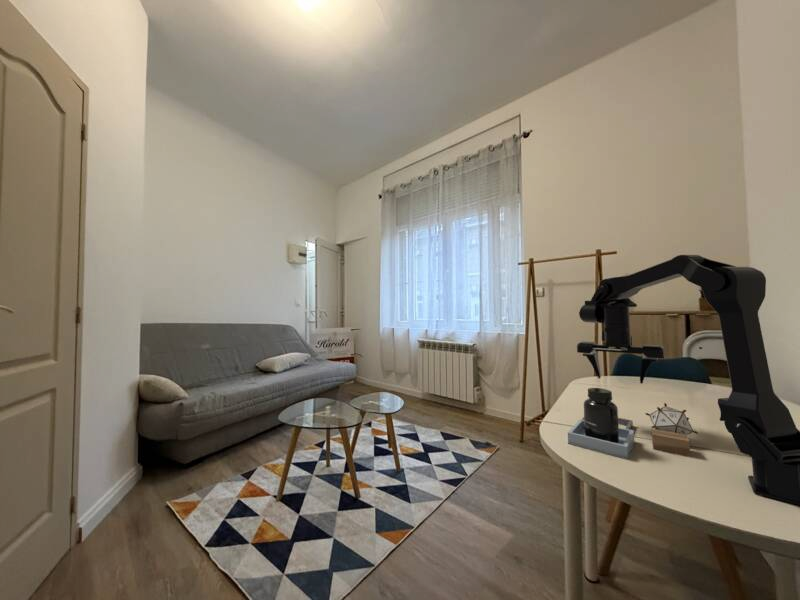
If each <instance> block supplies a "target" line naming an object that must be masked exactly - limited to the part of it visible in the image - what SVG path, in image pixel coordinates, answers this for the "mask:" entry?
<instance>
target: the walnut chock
mask: <svg viewBox="0 0 800 600" xmlns="http://www.w3.org/2000/svg"><path fill="white" fill-rule="evenodd" d="M650 433H651V442H652V449H653V450H655V451H660V452H664V453H670V454H674V455H675V454H676V455H679V456H684V457H689V458H691V447H690V440H689V438H688V435H685V434H679V433H673V432H667V431H662V430H656V429H655V428H651V432H650Z"/></svg>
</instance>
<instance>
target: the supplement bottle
mask: <svg viewBox="0 0 800 600" xmlns="http://www.w3.org/2000/svg"><path fill="white" fill-rule="evenodd" d="M612 393H613V392H612V391H611V390H610V389H608V388H607V389H606V388H603V387H602V388H601V387H589V388H587V397H588V398H587V399H585V400H584V402H583V417H584V427H585V436H589V437H593V438H597V439H601V440H605V441H609V442H614V443H619V428H620V426H619V424H618V418H619V411H618V406H617V405H616V403H614V402H613V394H612Z"/></svg>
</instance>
